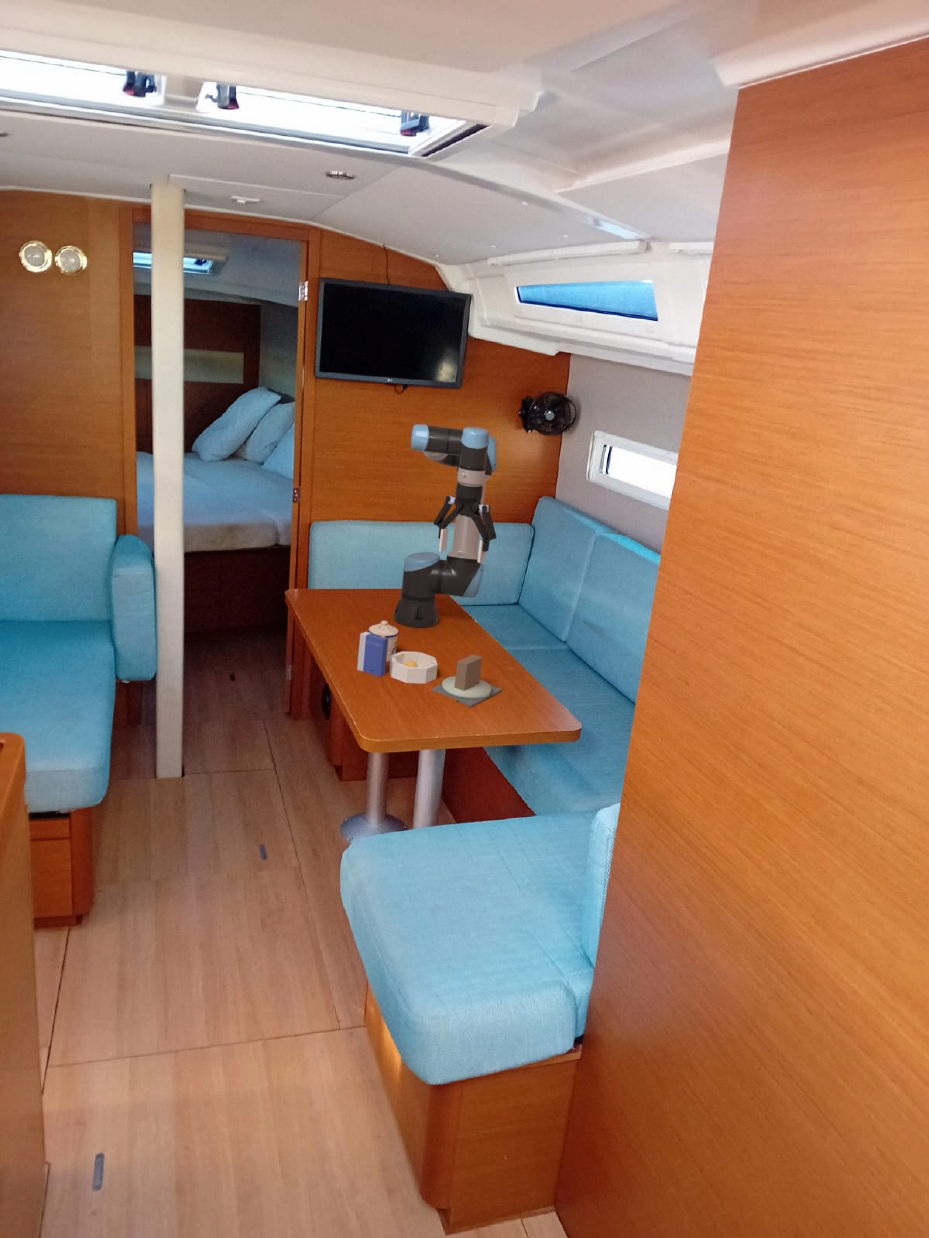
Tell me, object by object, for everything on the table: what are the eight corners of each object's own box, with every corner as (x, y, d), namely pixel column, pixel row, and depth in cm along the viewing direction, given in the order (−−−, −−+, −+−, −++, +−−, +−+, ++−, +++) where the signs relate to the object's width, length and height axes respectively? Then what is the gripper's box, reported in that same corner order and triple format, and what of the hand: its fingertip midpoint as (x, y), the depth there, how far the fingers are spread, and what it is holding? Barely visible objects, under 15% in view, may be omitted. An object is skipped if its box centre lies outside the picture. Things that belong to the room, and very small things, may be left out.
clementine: (408, 670, 273) (410, 657, 272) (419, 674, 271) (421, 661, 270) (400, 673, 270) (401, 660, 268) (411, 677, 268) (412, 665, 266)
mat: (461, 676, 275) (462, 674, 274) (501, 691, 268) (502, 689, 267) (429, 691, 262) (430, 689, 262) (471, 707, 255) (471, 705, 254)
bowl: (408, 663, 279) (409, 648, 278) (443, 676, 273) (445, 661, 271) (380, 674, 269) (382, 658, 267) (416, 688, 262) (418, 672, 261)
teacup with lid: (397, 664, 278) (401, 627, 274) (367, 662, 276) (370, 626, 273) (393, 649, 289) (396, 613, 286) (363, 648, 287) (367, 612, 284)
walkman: (385, 675, 269) (388, 636, 265) (380, 678, 266) (383, 639, 262) (361, 668, 272) (365, 630, 268) (356, 671, 269) (359, 632, 265)
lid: (459, 675, 274) (463, 646, 271) (500, 690, 267) (504, 660, 264) (432, 688, 262) (435, 658, 259) (473, 703, 255) (477, 673, 252)
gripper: (426, 476, 266) (419, 548, 273) (500, 494, 253) (490, 568, 260) (441, 474, 272) (434, 544, 279) (514, 491, 259) (504, 564, 266)
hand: (461, 556), depth 269 cm, fingers open, 13 cm apart
